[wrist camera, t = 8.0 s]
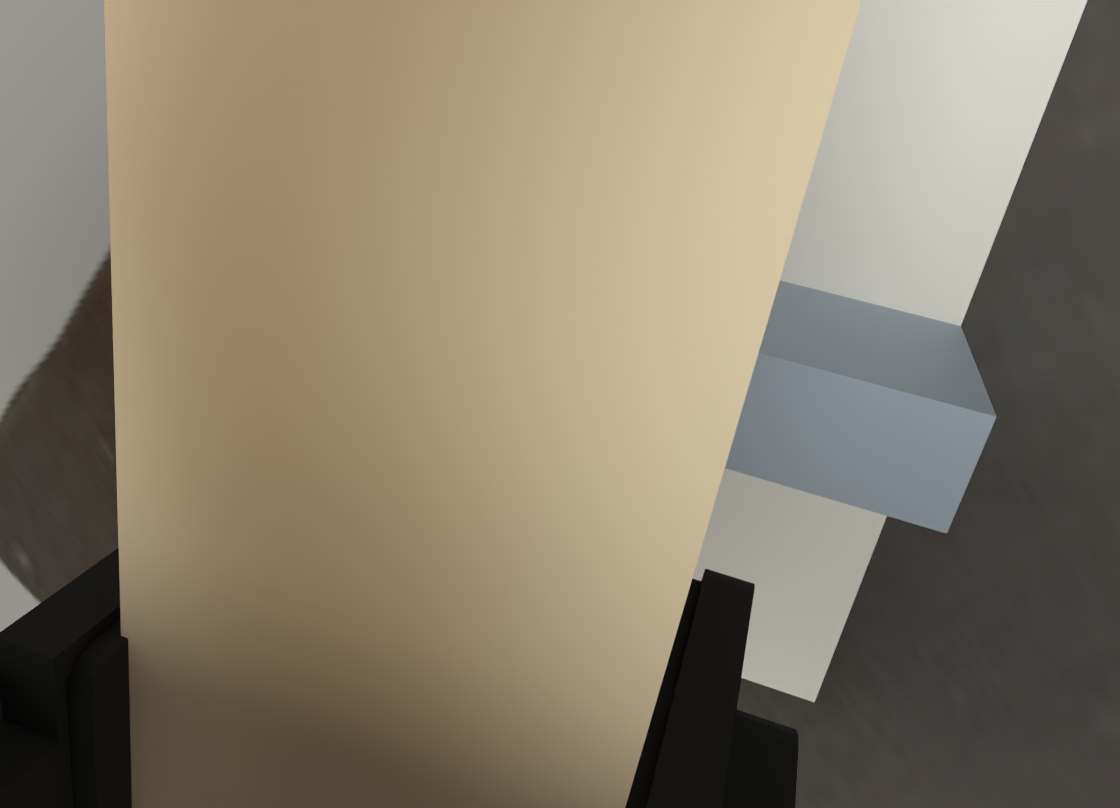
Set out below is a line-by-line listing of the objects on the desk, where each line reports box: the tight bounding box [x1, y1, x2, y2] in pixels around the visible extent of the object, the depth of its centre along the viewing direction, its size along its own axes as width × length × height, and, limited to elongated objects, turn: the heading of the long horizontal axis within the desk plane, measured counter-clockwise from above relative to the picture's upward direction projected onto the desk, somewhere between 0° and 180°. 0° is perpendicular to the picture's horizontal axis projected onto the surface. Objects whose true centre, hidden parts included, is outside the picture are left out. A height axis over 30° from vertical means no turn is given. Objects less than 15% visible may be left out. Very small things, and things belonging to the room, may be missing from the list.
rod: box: [104, 0, 862, 808], centre depth 9 cm, size 4×22×4 cm, turn 169°
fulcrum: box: [693, 0, 1087, 702], centre depth 20 cm, size 12×20×6 cm, turn 169°
